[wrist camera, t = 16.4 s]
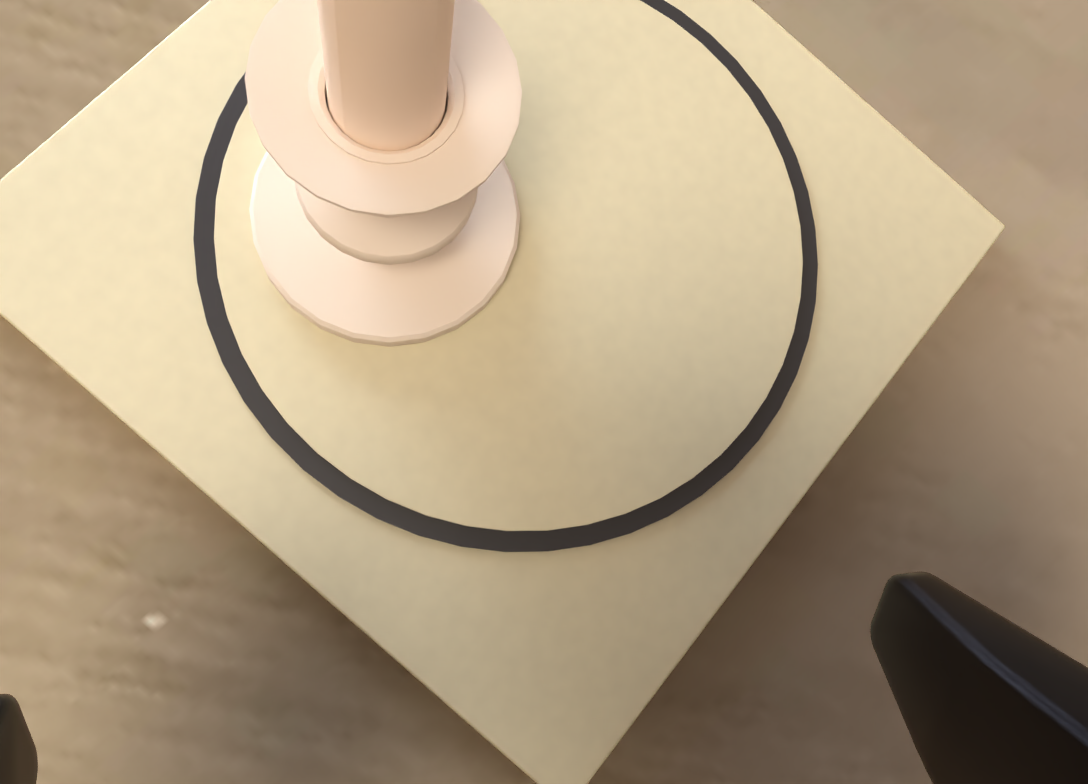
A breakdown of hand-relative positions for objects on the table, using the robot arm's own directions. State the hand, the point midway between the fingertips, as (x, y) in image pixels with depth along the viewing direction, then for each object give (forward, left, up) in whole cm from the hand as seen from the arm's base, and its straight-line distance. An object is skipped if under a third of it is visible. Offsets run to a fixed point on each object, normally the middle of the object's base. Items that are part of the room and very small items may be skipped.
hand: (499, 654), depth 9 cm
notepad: (+7, +4, -9) cm, 12 cm away
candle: (+5, +6, -8) cm, 11 cm away
